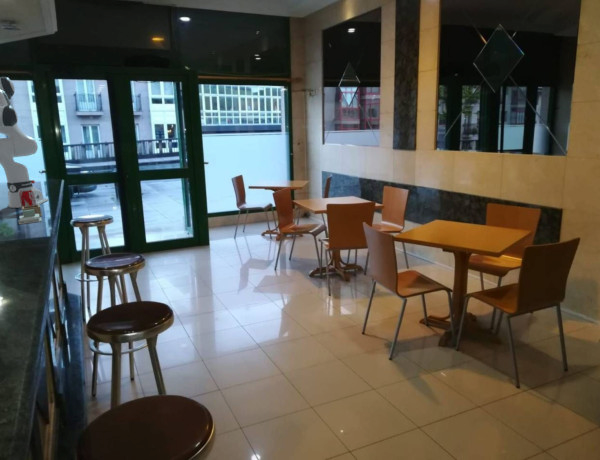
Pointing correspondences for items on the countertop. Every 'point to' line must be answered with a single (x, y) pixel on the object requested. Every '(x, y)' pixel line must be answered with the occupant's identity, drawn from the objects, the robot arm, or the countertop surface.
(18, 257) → the countertop surface
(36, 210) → the crate
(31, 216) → the lid
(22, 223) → the mat
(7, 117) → the robot arm
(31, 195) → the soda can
